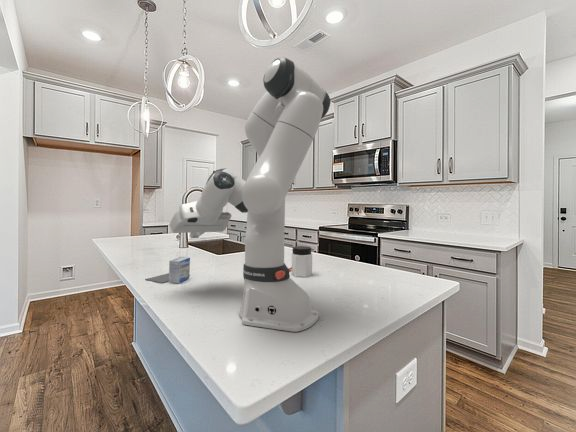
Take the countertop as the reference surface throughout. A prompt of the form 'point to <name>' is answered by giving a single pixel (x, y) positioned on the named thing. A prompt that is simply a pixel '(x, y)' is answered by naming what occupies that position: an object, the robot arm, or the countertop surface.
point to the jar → (301, 261)
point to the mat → (160, 278)
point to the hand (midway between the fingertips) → (193, 236)
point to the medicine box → (179, 269)
